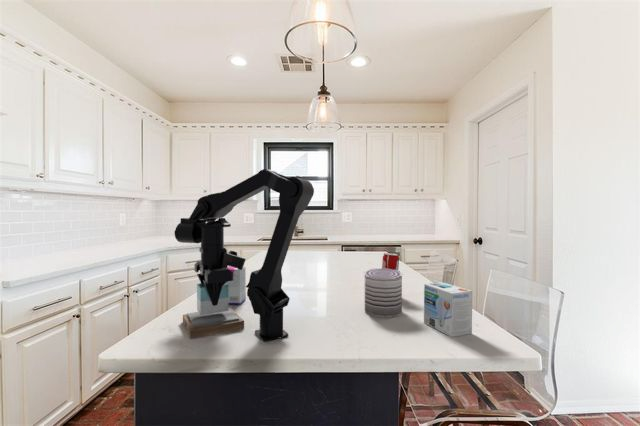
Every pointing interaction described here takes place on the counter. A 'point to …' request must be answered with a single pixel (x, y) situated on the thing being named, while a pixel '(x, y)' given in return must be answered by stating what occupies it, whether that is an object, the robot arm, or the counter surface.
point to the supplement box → (237, 287)
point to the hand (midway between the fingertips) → (212, 302)
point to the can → (383, 292)
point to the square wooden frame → (212, 323)
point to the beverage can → (390, 261)
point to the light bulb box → (448, 308)
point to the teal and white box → (205, 303)
